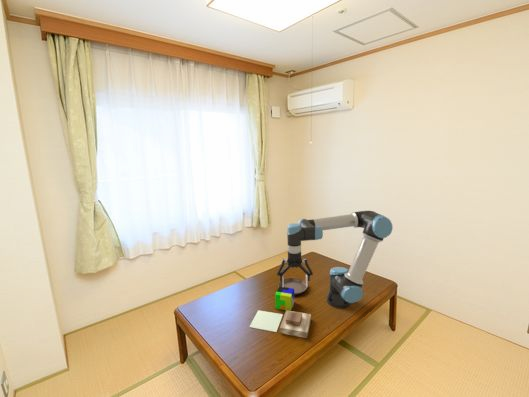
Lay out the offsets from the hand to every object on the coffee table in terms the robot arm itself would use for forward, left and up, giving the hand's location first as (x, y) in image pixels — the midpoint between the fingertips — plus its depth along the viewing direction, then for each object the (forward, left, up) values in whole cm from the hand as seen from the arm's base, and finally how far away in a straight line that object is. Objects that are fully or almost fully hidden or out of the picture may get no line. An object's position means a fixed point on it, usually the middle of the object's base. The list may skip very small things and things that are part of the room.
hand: (294, 286), depth 153 cm
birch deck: (-1, +5, -22) cm, 23 cm away
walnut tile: (0, +5, -19) cm, 19 cm away
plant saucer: (+8, -34, -23) cm, 42 cm away
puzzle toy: (+9, -13, -23) cm, 28 cm away
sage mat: (+16, +5, -22) cm, 28 cm away
